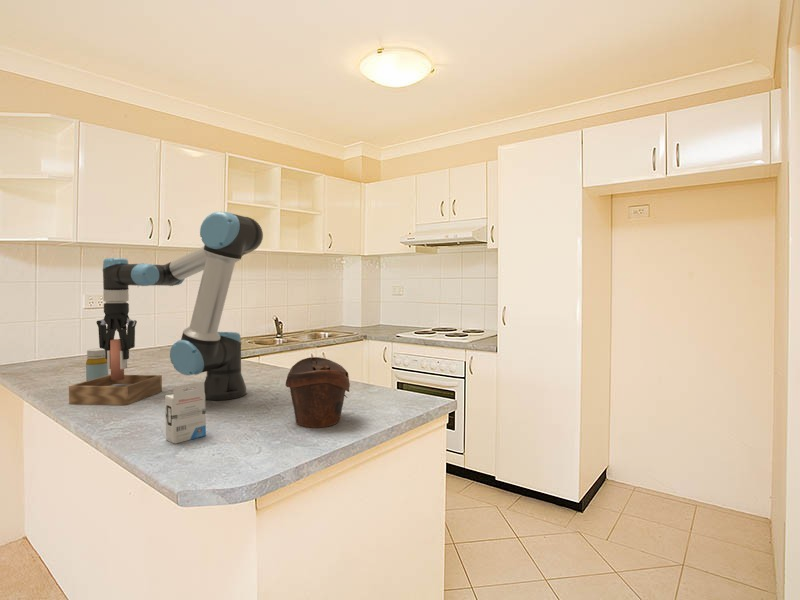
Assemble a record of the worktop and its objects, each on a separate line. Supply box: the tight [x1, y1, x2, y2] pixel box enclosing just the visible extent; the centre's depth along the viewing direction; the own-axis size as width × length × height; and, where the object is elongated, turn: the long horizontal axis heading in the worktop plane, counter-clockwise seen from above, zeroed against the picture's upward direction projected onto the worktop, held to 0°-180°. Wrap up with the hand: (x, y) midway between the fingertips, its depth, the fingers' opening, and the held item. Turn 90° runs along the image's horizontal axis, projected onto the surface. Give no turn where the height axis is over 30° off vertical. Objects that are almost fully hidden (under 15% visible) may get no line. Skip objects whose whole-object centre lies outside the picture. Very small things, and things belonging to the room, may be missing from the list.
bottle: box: [85, 348, 109, 381], centre depth 175 cm, size 7×7×15 cm
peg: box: [110, 338, 125, 380], centre depth 162 cm, size 4×4×14 cm
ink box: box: [164, 380, 207, 444], centre depth 120 cm, size 8×5×15 cm, turn 140°
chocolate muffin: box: [285, 356, 351, 429], centre depth 134 cm, size 18×20×18 cm
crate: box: [68, 373, 163, 406], centre depth 162 cm, size 20×20×6 cm
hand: (117, 368), depth 162 cm, fingers closed on peg, 4 cm apart
